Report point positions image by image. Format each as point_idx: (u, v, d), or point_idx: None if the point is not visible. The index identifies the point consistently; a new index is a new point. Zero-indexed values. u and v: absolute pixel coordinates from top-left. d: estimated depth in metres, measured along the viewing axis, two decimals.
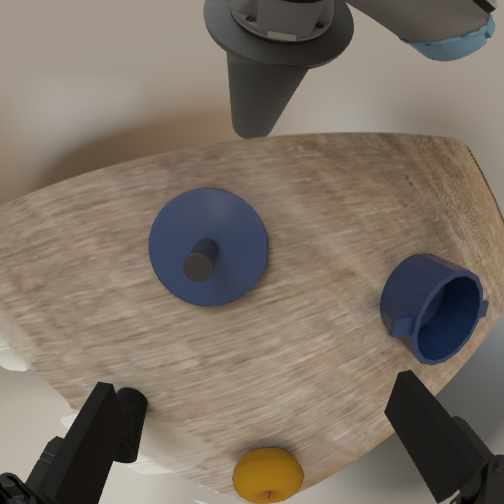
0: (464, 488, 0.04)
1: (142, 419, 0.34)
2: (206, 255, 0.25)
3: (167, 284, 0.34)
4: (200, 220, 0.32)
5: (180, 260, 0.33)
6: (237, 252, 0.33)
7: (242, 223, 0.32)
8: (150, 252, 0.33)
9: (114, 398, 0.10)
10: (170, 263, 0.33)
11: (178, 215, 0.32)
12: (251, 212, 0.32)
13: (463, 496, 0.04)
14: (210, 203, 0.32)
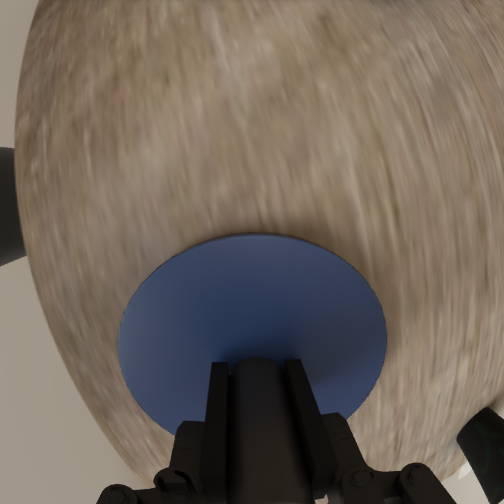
0: (329, 492, 0.06)
1: None
2: (234, 501, 0.05)
3: None
4: (189, 386, 0.13)
5: None
6: (264, 314, 0.12)
7: (187, 302, 0.12)
8: None
9: None
10: None
11: (183, 417, 0.14)
12: (158, 280, 0.12)
13: None
14: (149, 366, 0.13)
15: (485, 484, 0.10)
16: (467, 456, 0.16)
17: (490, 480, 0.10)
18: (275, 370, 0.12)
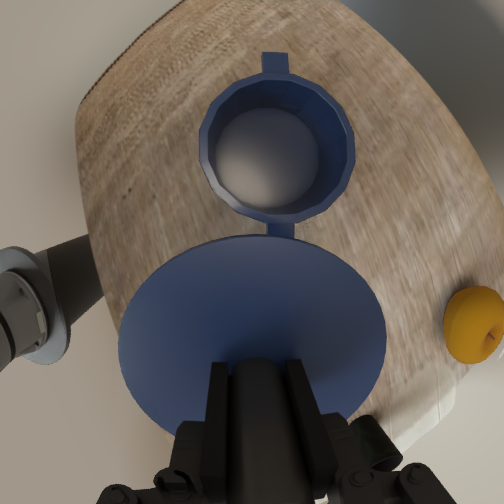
0: (329, 492, 0.06)
1: (372, 431, 0.37)
2: (234, 502, 0.05)
3: None
4: (189, 387, 0.13)
5: None
6: (263, 314, 0.12)
7: (187, 303, 0.12)
8: None
9: None
10: None
11: (183, 418, 0.14)
12: (158, 281, 0.12)
13: None
14: (149, 367, 0.13)
15: None
16: None
17: None
18: (275, 371, 0.12)
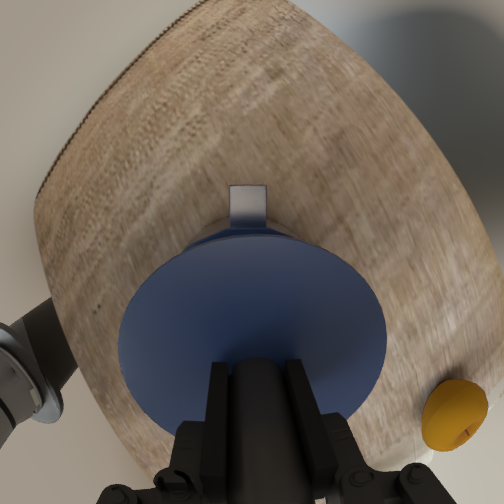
0: (328, 492, 0.06)
1: None
2: (234, 502, 0.05)
3: None
4: (189, 387, 0.13)
5: None
6: (263, 315, 0.12)
7: (187, 303, 0.12)
8: None
9: None
10: None
11: (183, 418, 0.14)
12: (158, 281, 0.12)
13: None
14: (149, 367, 0.13)
15: None
16: None
17: None
18: (275, 371, 0.12)
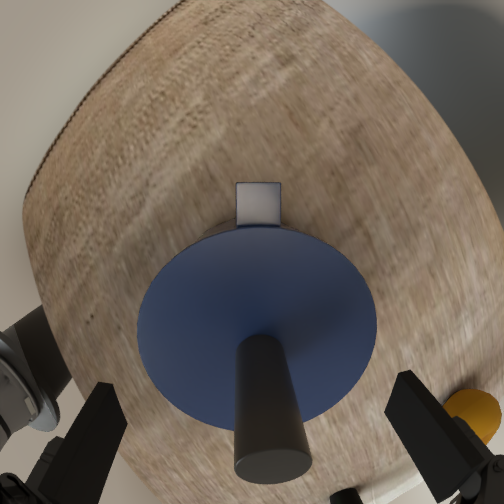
0: (464, 488, 0.04)
1: None
2: (241, 451, 0.08)
3: (321, 409, 0.17)
4: (200, 363, 0.15)
5: None
6: (267, 295, 0.14)
7: (201, 285, 0.14)
8: None
9: (114, 398, 0.10)
10: None
11: (193, 394, 0.16)
12: (176, 266, 0.14)
13: (463, 496, 0.04)
14: (165, 344, 0.15)
15: None
16: None
17: None
18: (277, 346, 0.14)
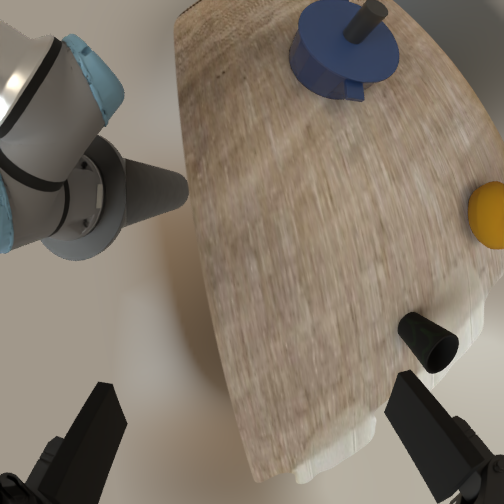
0: (464, 488, 0.04)
1: (424, 320, 0.41)
2: None
3: (386, 74, 0.27)
4: (327, 34, 0.26)
5: (364, 57, 0.26)
6: (351, 17, 0.25)
7: (327, 9, 0.25)
8: (360, 80, 0.27)
9: (114, 398, 0.10)
10: (367, 65, 0.27)
11: (324, 49, 0.26)
12: (317, 3, 0.24)
13: (463, 496, 0.04)
14: (312, 25, 0.25)
15: (416, 352, 0.38)
16: (404, 339, 0.43)
17: (418, 347, 0.38)
18: None
